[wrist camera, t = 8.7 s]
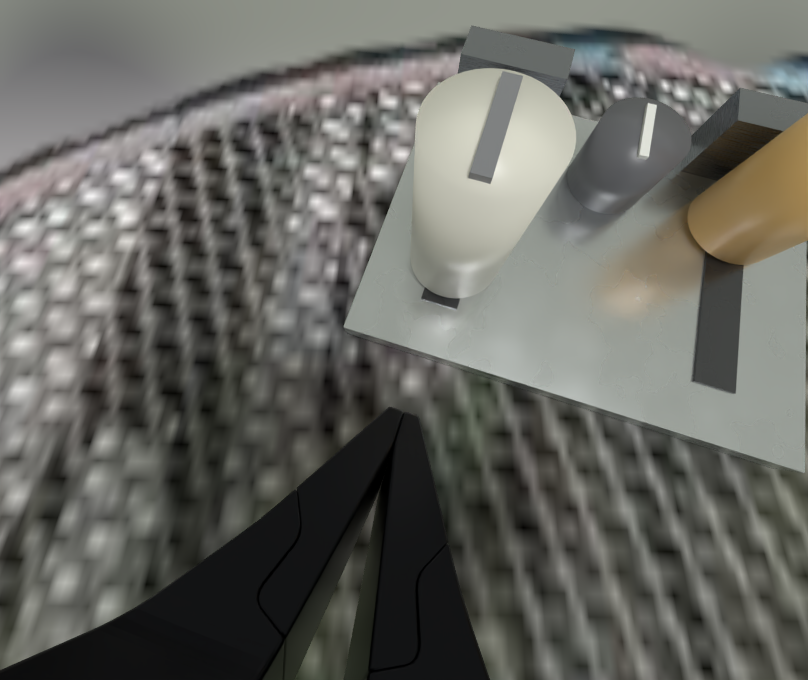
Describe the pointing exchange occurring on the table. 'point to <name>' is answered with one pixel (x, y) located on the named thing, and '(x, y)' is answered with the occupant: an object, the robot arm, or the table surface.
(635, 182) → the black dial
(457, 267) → the cream knob
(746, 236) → the orange knob
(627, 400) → the console plate
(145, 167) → the table surface
